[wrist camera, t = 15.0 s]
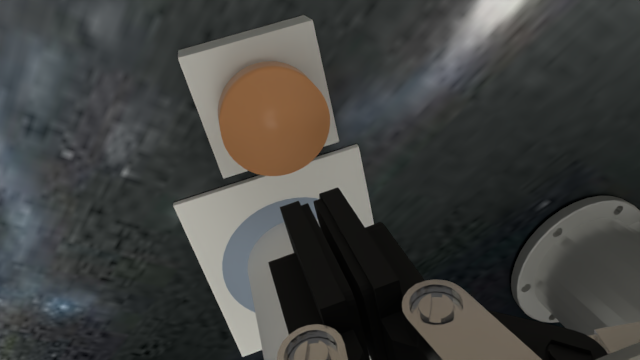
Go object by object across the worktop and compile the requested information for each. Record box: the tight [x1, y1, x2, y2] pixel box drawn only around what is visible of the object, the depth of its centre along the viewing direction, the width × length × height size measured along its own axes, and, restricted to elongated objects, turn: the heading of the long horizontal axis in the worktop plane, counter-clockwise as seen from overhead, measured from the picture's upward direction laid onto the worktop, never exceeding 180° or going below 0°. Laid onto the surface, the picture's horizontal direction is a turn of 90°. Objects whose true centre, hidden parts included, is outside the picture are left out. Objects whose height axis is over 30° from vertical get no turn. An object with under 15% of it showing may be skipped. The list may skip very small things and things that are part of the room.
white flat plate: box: [173, 144, 374, 357], centre depth 32 cm, size 12×14×1 cm
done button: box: [218, 61, 330, 176], centre depth 22 cm, size 5×5×2 cm
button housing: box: [178, 15, 339, 179], centre depth 25 cm, size 7×7×2 cm
